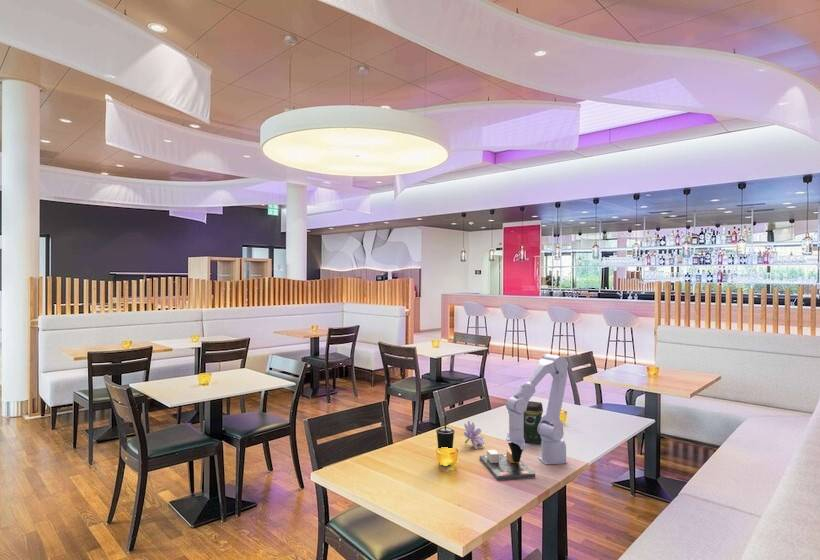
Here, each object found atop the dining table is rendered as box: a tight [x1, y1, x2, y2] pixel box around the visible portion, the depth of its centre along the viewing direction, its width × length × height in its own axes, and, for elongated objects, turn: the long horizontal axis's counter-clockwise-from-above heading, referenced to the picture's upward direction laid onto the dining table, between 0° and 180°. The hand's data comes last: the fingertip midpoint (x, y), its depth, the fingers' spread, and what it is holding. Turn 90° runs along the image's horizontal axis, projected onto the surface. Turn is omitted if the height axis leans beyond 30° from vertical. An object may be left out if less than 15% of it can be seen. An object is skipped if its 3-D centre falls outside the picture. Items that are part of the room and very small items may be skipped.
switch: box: [486, 449, 500, 463], centre depth 195 cm, size 4×5×4 cm
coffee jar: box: [524, 400, 544, 444], centre depth 224 cm, size 10×8×19 cm
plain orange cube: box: [506, 449, 519, 463], centre depth 195 cm, size 4×5×4 cm
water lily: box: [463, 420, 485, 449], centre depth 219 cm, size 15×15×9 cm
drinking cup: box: [435, 414, 455, 449], centre depth 196 cm, size 8×8×20 cm
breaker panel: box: [479, 453, 536, 481], centre depth 192 cm, size 15×22×2 cm
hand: (516, 461), depth 191 cm, fingers closed
